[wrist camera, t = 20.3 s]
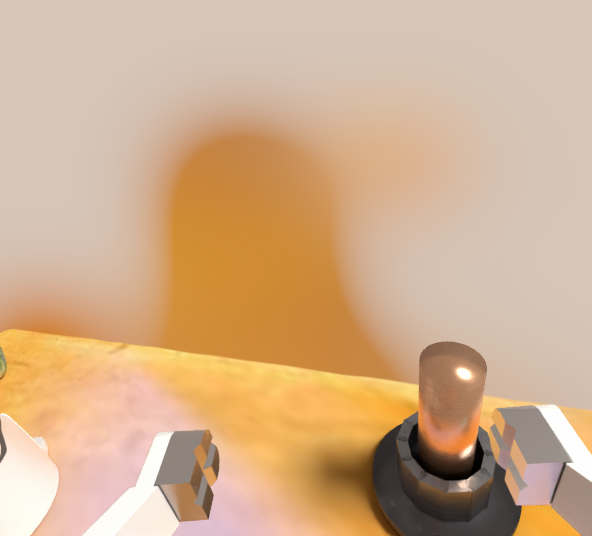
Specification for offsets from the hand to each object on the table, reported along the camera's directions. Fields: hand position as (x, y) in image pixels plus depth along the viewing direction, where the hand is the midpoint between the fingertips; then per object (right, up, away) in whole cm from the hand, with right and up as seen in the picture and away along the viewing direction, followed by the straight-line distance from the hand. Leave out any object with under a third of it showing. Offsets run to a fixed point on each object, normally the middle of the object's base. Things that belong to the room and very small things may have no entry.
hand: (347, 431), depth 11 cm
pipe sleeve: (+14, -18, +28) cm, 36 cm away
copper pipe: (+13, -17, +28) cm, 35 cm away
